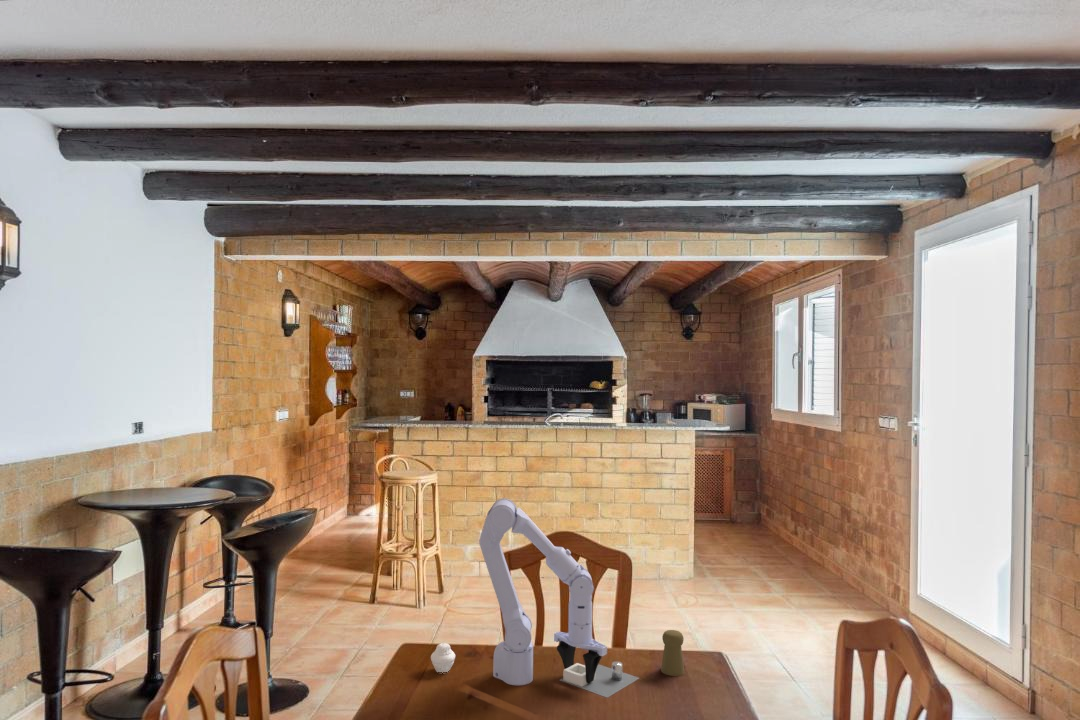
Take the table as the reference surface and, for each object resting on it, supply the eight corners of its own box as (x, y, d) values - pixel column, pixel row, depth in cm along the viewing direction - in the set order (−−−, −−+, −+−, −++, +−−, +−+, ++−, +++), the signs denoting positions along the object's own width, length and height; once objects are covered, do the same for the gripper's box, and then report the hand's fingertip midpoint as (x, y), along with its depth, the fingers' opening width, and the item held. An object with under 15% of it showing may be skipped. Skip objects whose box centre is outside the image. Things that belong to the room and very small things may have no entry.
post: (609, 678, 171) (609, 663, 171) (615, 675, 173) (615, 660, 173) (618, 681, 170) (618, 666, 170) (624, 678, 172) (624, 663, 172)
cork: (684, 682, 173) (685, 636, 173) (659, 679, 174) (660, 634, 174) (684, 672, 179) (685, 628, 179) (660, 669, 180) (661, 626, 180)
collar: (563, 680, 170) (563, 669, 170) (577, 672, 174) (577, 662, 175) (582, 686, 167) (582, 676, 167) (595, 679, 171) (595, 669, 171)
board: (559, 685, 170) (559, 680, 170) (592, 667, 181) (592, 662, 181) (607, 702, 161) (607, 697, 161) (639, 682, 172) (639, 677, 172)
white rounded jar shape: (449, 664, 182) (449, 636, 182) (459, 673, 176) (459, 644, 176) (426, 668, 178) (427, 641, 179) (435, 678, 173) (436, 649, 173)
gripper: (614, 623, 169) (613, 681, 169) (566, 610, 179) (565, 664, 178) (597, 631, 164) (596, 690, 164) (549, 617, 173) (548, 673, 173)
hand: (579, 677), depth 171 cm, fingers closed on collar, 6 cm apart
